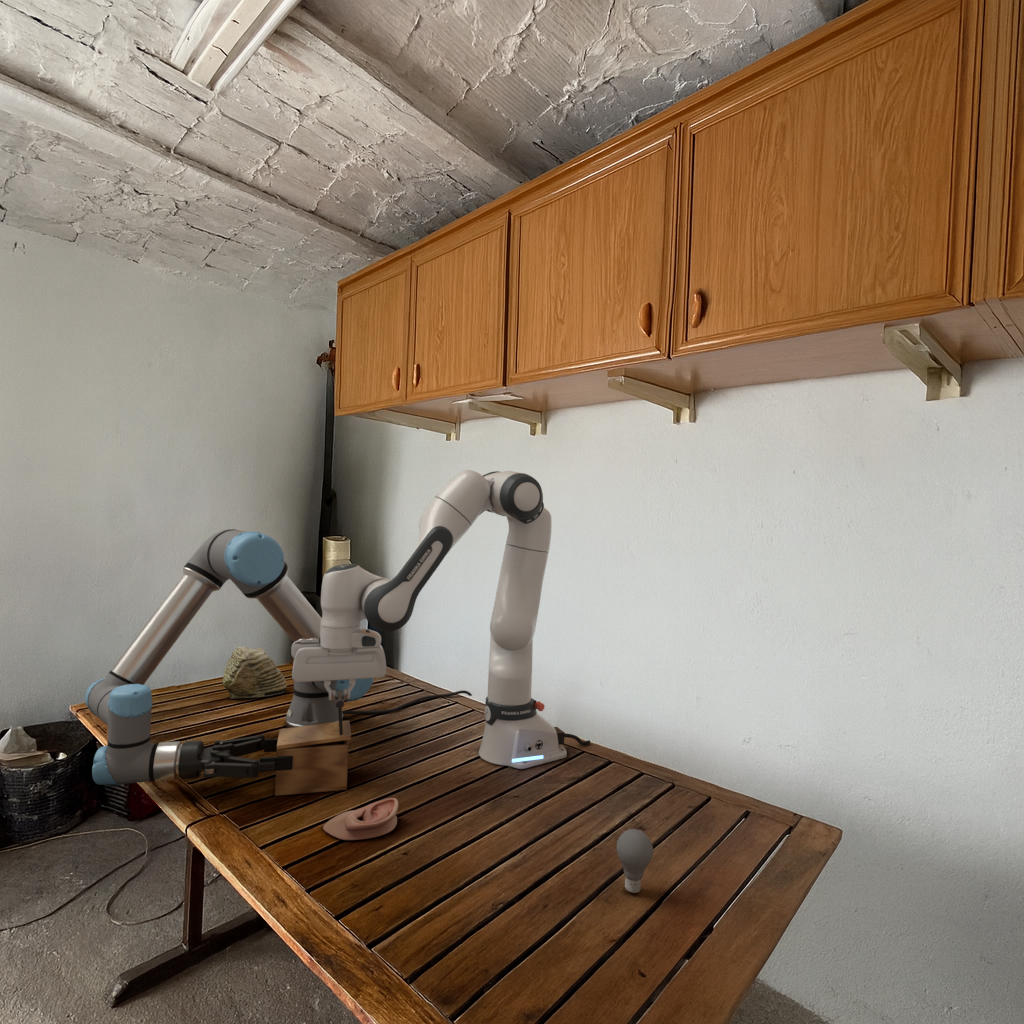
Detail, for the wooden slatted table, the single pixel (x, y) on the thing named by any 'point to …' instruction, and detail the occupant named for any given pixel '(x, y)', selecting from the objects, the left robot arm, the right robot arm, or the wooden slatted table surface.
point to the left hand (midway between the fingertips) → (293, 752)
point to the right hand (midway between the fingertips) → (339, 698)
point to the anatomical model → (364, 821)
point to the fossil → (252, 674)
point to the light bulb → (634, 857)
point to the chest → (314, 769)
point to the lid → (316, 731)
